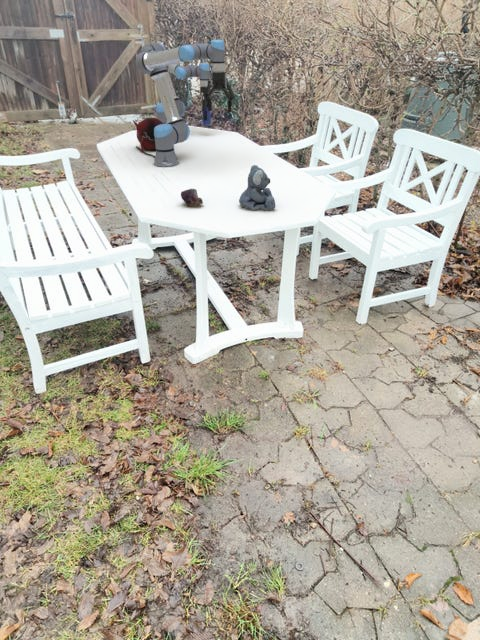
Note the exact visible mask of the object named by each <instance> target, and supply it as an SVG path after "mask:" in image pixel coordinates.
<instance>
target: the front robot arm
mask: <svg viewBox="0 0 480 640" xmlns="http://www.w3.org/2000/svg"><path fill="white" fill-rule="evenodd" d="M225 51H226V48H225V40H223V39H212V40H210V43H201V42H200V43H195V44H184V45H182V46H178V47H174V48H170V49H166V50H165V51H150V52H142V53H140V52H139V53H138V54H137V55H136V56H135V57H136V58H135V61H134V62H135V67H136V69H137V70H138V71H139V73H142V74H144V75H149V76H150V79H151V80H153V81H154V84H155V87H156V91H157V94H158V97H159V100H160V102H161V103H162V106H163V110H164V113H165V116H166V119H167V122H166V124H160V125H158V126H156V127H155V128H154V137H155V145H156V150H155V155H153V154H151V153H147V152H145V151H144V150H143V151H142V152H141V148H139V147H138V145H135V148H137V149H138V150H139V151H140V152H141V153H143V154H145V155H148V156H151V157H153V158H154V165H155V166H157V167H163V168H164V167H165V168H167V167H168V168H169V167H174V166H177V165H178V164H179V159H178V157H177V153H176V151H175V145H177V144H180V143H184V142H186V141H187V140H188V139H189V137H190V134H191V130H190V126H189V125H188V123H187V122H185V120H184V119H183V117H182V116H181V117H180V116H179V113H178V110H177V107H176V103H175V100H174V97H173V94H172V91H171V87H170V84H169V81H168V78H167V75H168V68H169V65H172V64H181V63H187V62H192V61H200V60H211V79H212V80H211V79H210V80H209V81H208V85H207V88H206V91H205V94H204V98H206V99H207V105H208V111H210V112H211V111H212V110H213V108H212V107H213V106H212V98H211V97H212V96H213V95H214V92H215V91H221V92H223V94H224V95H225V96H226V98H227V114H231V113H232V107H233V101H234V100H236V96H235V93H234V91H233V88H232V86H231V81H226V72H225V71H226V61H225V60H226V59H225V58H226V57H225V55H226V52H225ZM209 91H210V92H209Z"/></svg>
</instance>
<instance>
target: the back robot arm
mask: <svg viewBox="0 0 480 640" xmlns="http://www.w3.org/2000/svg"><path fill="white" fill-rule="evenodd" d="M165 50H167V49H166V46H164V45H163V44H161V43H151V44H144V45H143V46H142V47H141V48H140V51H139V54H140V53H142V52H150V51H165ZM210 70H211V69H210V64H209V62H199V63H198V65H195V64H189V65H187V66H184V65H181V64H180V63H177V64H172V65H169V68H168V75H167V78H168V81H169V84H170V87H171V91H172V94H173V97H174V100H175V103H176V107H177V110H178V113H179V116H180V117H181V118H182V117H183V116H184V115H185V112H186V105H185V103H184V102H183V101H182V100H181V99H180V97H179V96H177V93H176V91H175V88H174V84H173V82H172V78H171V76H170V74H173V75H174V76H175V77H176V79H178V80H184V79H188V78H189V79H190V78H199V86H200V87H199V90H200V91H199V92H200V93H201V94H202V95H201V100H202V101H201V104H202V105H201V111H203V115H204V120H207V106H208V105H207V99H206V98H204V94H205V91H206V88H207V85H208V81H209V80H211V71H210ZM210 91H211V90H210ZM210 91H209V92H210ZM155 112H156V119H159V120H160V121H161V122H163V123H164V124H166V122H167V119H166V116H165V113H164V110H163V106H162V103H161V101H160V102H158V103H157V104H156V105H155Z"/></svg>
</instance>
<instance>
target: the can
mask: <svg viewBox="0 0 480 640" xmlns="http://www.w3.org/2000/svg"><path fill="white" fill-rule="evenodd" d="M201 111H202V110H201ZM201 116H202V125H203V126H210V125H212V119H211V111H208V106H207V120H204V115H203V111H202V115H201Z"/></svg>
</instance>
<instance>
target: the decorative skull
mask: <svg viewBox="0 0 480 640" xmlns="http://www.w3.org/2000/svg"><path fill="white" fill-rule="evenodd" d="M132 122H133V124H134V125H135V128H136V139H137V141H138V143H139V144H140V147H141V148H140V150H141V151H140V153H143V152H144V150H150V151H151V150H152V151H156V145H155V137H154V128H155V127H156V126H158V125H160V124H164V123H163V122H161V121H160V120H159V119H157V117H148V118H144V119H143V120H141V121H139V122H138V123H137V122H136V121H135V120H134V119H133V120H132ZM142 151H143V152H142Z"/></svg>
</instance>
